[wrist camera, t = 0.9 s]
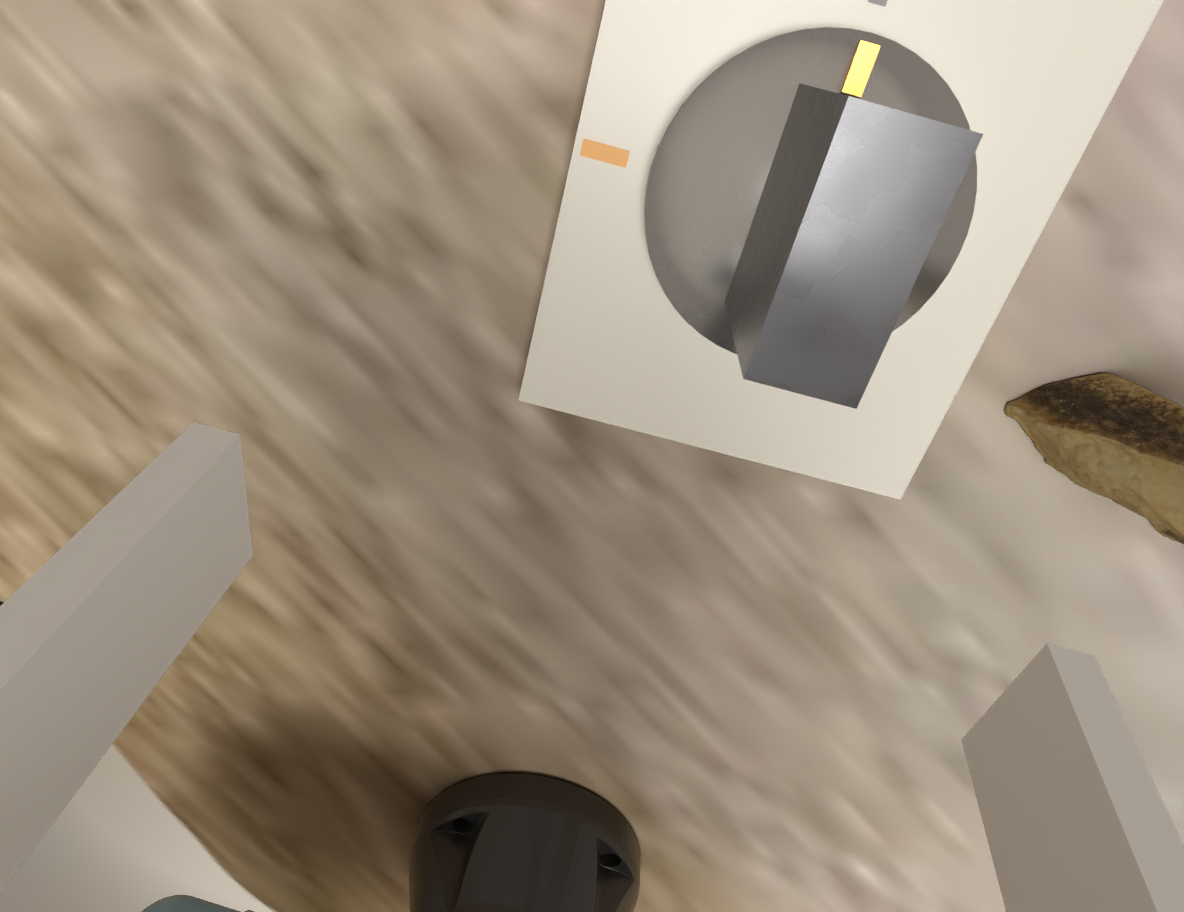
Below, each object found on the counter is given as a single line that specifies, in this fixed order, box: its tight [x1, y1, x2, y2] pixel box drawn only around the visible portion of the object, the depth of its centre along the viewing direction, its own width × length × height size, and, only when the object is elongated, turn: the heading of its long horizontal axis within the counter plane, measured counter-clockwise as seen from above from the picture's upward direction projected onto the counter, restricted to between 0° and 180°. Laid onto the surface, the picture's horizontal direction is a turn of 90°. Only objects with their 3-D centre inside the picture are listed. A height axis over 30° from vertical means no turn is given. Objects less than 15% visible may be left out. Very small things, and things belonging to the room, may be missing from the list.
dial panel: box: [519, 0, 1164, 499], centre depth 30 cm, size 22×18×2 cm
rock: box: [1005, 373, 1184, 544], centre depth 32 cm, size 11×9×10 cm
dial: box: [644, 27, 983, 409], centre depth 25 cm, size 12×12×9 cm
